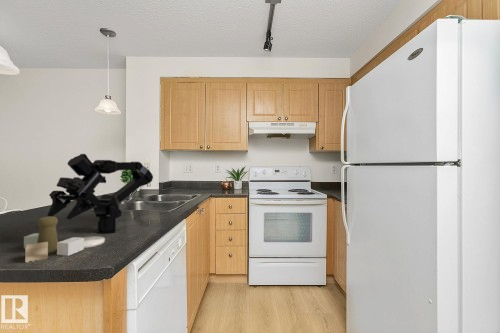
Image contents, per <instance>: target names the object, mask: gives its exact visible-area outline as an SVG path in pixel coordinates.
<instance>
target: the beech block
mask: <svg viewBox="0 0 500 333" xmlns="http://www.w3.org/2000/svg"><path fill="white" fill-rule="evenodd" d="M24 249H25V252H24V254H25V260H24V262H26V263H30V262H29V261H32V262H36V261H35V260H37V261H42V259H43V260H48V258H49V256H48V255H49V252H48V242H43V243H36V244H29V245H26V248H24Z"/></svg>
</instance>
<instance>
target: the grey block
mask: <svg viewBox="0 0 500 333" xmlns="http://www.w3.org/2000/svg"><path fill="white" fill-rule="evenodd" d="M83 250H85V248H84V238H83V237H76V236H74V237H73V236H72V237H70V238H67V239H64V240H61V241H58V243H57V250H56V255H57V256H71V255H73V254H75V253H78V252H80V251H83Z"/></svg>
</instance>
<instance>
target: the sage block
mask: <svg viewBox="0 0 500 333" xmlns="http://www.w3.org/2000/svg"><path fill="white" fill-rule="evenodd" d="M38 236H39V232H38V233H37V232H36V233H34V232H33V233H30V234H28V235H26V236H23V249H26V245H29V244H36V243H37V241H38Z"/></svg>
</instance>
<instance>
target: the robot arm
mask: <svg viewBox="0 0 500 333" xmlns="http://www.w3.org/2000/svg"><path fill="white" fill-rule="evenodd" d="M67 165H68V167H70V169H71V170H72V171H73V172H74V173H75V174H76V175H77V176H78V177H77V176H75V177H72V178H71V177H59V179H58V181H57V183H56V187H58V188H62V189H65V191H64V190H52V191H51V192H50V193H49V195H48V196H50V199H51V202H52V203H51V206H50V208H49V210H48V213H47V214H46V217H48V216H53V217H54V216H55V215H56V214H58V213H59V212H61V211H62V210H64V209H65V208H67V207H68V205H69V204H70V203H71V202H72V201H74V202H75V205H74V206H73V207H72V209H71V210H70V212H69V213H68V215H67V216H66V219H67V220H69V221H70V220H72V219H73V218H76V217H77V216H79V215H81V214H83V213H85V212H87V211H90V210H93V212H94V214H95V217H96V218H99V219H98V221H97V234H112V233H116V232H117V231H119V230H120V228H119V227H118V223H119V222H118V221H119V220H118V218H121V216H122V214H123V213H122V212H123V211H122V210H121V209H120V204H121V203H122V202H123V201H124V200H125V199H126V198H128V197H129V196H130V195H132V193H134V192H135V191H137V189H139V188H140V187H143V186H146V185H148V184H150V183H152V181H153V179H154V175H153V174H152V172H151V171H150V169H148V168H147V167H146V166H144V165H143V163H141V162H140V161H131V162H129V161H121V162H120V161H119V162H118V161H115V160H111V159H96V160H94V161H93V162H92V161H91V160H90V159H89V157H88V155H87V154H86V153H80V154H79V155H76V156H74V157H73V158H70V159H69V160H68V162H67ZM117 171H130V172H131V176H132V179H131V180H130V181H129V182H128V183H126V184H124V185H123V186H122V187H121V188H120V189H118V190H117V191H115V192H114V193H113V194H111V195H109V194H103V195H101V196H100V197H99V198H98V196H96V194H95V192H96V187H98V185H99V184H106V183H107V179H106V176H105V174H106V175H107V174H109V175H110V174H113V173H116V172H117ZM102 174H104V175H102ZM81 176H82V178H80V177H81Z"/></svg>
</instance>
